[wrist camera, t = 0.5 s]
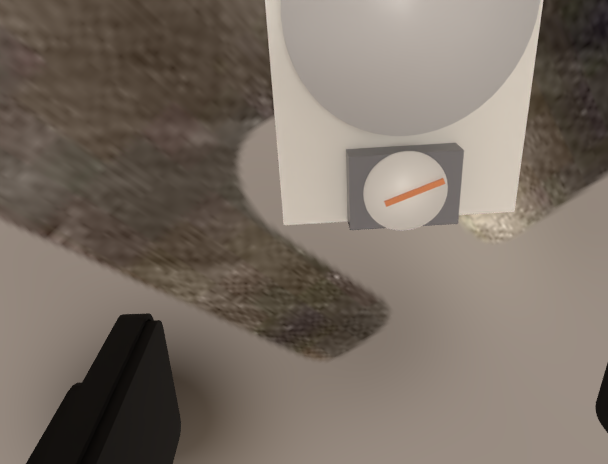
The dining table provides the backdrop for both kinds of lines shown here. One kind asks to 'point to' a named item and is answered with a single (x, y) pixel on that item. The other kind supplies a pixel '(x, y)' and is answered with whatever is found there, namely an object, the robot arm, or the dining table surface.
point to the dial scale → (400, 108)
